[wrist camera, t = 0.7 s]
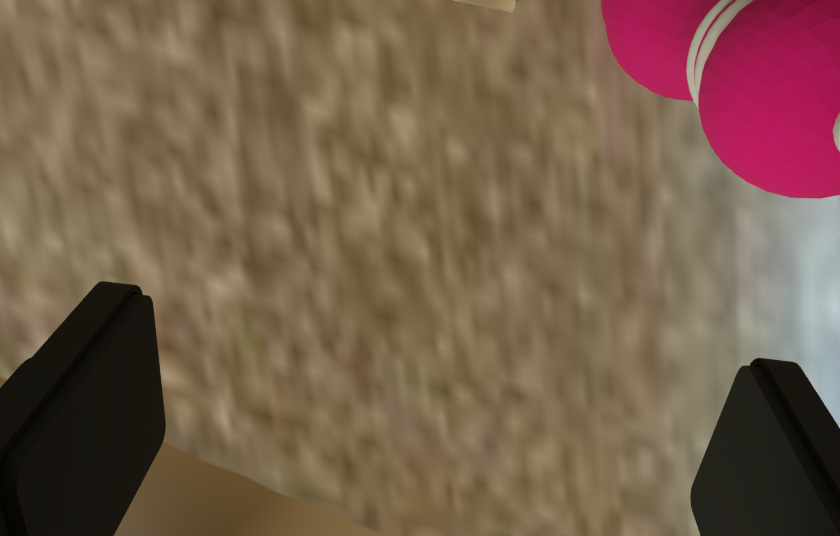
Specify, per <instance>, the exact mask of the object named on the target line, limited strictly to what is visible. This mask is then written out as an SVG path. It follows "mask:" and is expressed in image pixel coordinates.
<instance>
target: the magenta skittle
mask: <svg viewBox="0 0 840 536" xmlns="http://www.w3.org/2000/svg"><path fill="white" fill-rule="evenodd" d="M601 7H602V14H603V18H604V21H605V24H606V31H607V37H608V41H609V44H610V47H611V49H612V52H613V54H614V56H615V58H616V60H617V61H618V63H619V65H620V66H621V67H622V68H623V69H624V71H625V72H626V73H627V74H628V75H629V76H630V77H632V78H633V79H634V80H635V81H636V82H638V83H639V84H641V85H642V86H644V87H646V88H647V89H649V90H650V91H652V92H654V93H656V94H659V95H662V96H664V97H668V98H673V99H678V100H690V101H694V102H695V104H696V106H697V107H698V109H699V112H700V118H701V123H702V128H703V130H704V132H705V134H706V137H707V139H708V141H709V143H710V145H711V147H712V148H713V150H714V152H715V153H716V154H717V156H718V157H719V158H720V160H721V161H722V162H723V163H724V164H725V165H726V166H727V167H728V168H729V169H731V170H732V171H733V172H734V173H735V174H736V175H738V176H739V177H741V178H742V179H744V180H745V181H747V182H748V183H750V184H752V185H754V186H757V187H759V188H761V189H763V190H765V191H767V192H771V193H775V194H779V195H783V196H787V197H791V198H825V197H831V196H836V195H840V0H601Z"/></svg>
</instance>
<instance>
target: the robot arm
mask: <svg viewBox="0 0 840 536" xmlns="http://www.w3.org/2000/svg"><path fill="white" fill-rule="evenodd" d="M165 427H166V424H165V413H164V403H163V394H162V384H161V375H160V365H159V356H158V346H157V337H156V328H155V318H154V309H153V302H152V299H151V297H150V296H146V295H143V294H142V291H141V289H140V287H139V286H137V285H130V284H122V283H113V282H105V281H103V282H99V283H98V284H96V285H95V286H94V288H93V289H92V290H91V291H90V292H89V293H88V294H87V295H86V297H85V298H84V299H83V300H82V301H81V302H80V303H79V305H78V306H77V307H76V308H75V309H74V310H73V311H72V312H71V314H70V315H69V316H68V317H67V318H66V319H65V320H64V322H63V323H62V324H61V325H60V326H59V327H58V328H57V329H56V331H55V332H54V333H53V334H52V335H51V336H50V337H49V339H48V340H47V341H46V342H45V343H44V344H43V345H42V346H41V348H40V349H39V350H38V351H37V352H36V353H35V354H34V356H33V357H32V358H29V359H27V360H26V361H25V362H24V363H23V364H21V365H20V366H19V367H18V369H17V370H16V371H15V372H14V373H13V374H12V375H11V376H10V378H9V379H8V380H7V381H6V382H5V383H4V384H3V386H2V387H1V388H0V536H113V535H114V534H115V532H116V530H117V528H118V526H119V524H120V523H121V520H122V519H123V517H124V515H125V513H126V511H127V509H128V508H129V506H130V504H131V502H132V500H133V498H134V496H135V494H136V492H137V491H138V489H139V487H140V485H141V483H142V481H143V479H144V477H145V475H146V473H147V472H148V470H149V468H150V466H151V464H152V462H153V460H154V458H155V456H156V455H157V453H158V451H159V449H160V447H161V445H162V442H163V439H164V435H165ZM691 507H692V511H693V514H694V517H695V520H696V523H697V526H698V529H699V532H700V535H701V536H840V428H839V427H838V425H837V423H836V422H835V420H834V419H833V417H832V416H831V414H830V413H829V411H828V409H827V408H826V406H825V405H824V403H823V402H822V400H821V398H820V397H819V395H818V394H817V392H816V391H815V389H814V388H813V386H812V384H811V383H810V381H809V380H808V378H807V377H806V375H805V373H804V372H803V370H802V369H801V367H800V366H799V365H798V364H797V363H794V362H789V361H781V360H772V359H764V358H757V359H754V360H753V361H752V362H751V364H750V366H742V367H741V368H740V369H739V371H738V372H737V375H736V377H735V380H734V382H733V385H732V387H731V390H730V392H729V395H728V397H727V400H726V402H725V405H724V407H723V410H722V412H721V415H720V417H719V420H718V422H717V425H716V427H715V430H714V432H713V435H712V437H711V440H710V442H709V445H708V447H707V450H706V452H705V455H704V457H703V460H702V462H701V465H700V467H699V470H698V472H697V475H696V477H695V480H694V482H693V485H692V488H691Z"/></svg>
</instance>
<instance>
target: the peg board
mask: <svg viewBox="0 0 840 536" xmlns="http://www.w3.org/2000/svg"><path fill="white" fill-rule="evenodd" d="M454 1H459V2H464V3H469V4H474V5H479V6H484V7H489V8H494V9H499V10H504V11H509V12H513V11H514V7H515V2H516V0H454Z"/></svg>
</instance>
